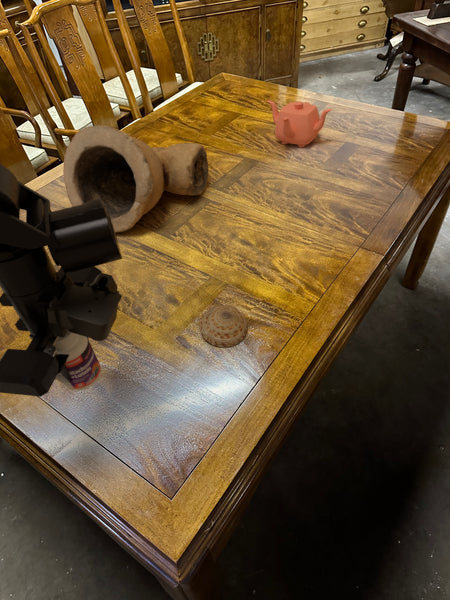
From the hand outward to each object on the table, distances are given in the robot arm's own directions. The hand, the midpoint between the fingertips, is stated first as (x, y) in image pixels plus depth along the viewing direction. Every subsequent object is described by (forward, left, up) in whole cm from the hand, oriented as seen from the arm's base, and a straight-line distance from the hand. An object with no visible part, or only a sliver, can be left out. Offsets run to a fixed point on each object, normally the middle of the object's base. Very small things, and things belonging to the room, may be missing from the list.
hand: (76, 364), depth 56 cm
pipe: (-10, +60, -13) cm, 62 cm away
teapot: (+27, +92, -13) cm, 97 cm away
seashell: (+16, +18, -13) cm, 27 cm away
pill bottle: (0, 0, -3) cm, 3 cm away
